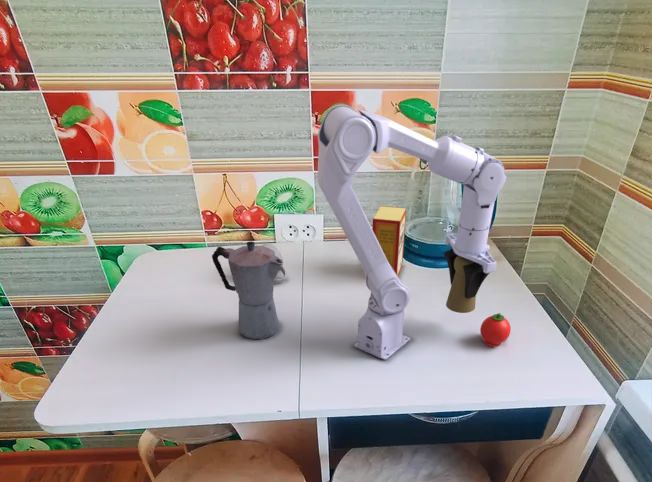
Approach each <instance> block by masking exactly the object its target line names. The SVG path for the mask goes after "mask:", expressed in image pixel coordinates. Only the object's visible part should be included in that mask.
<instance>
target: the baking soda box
mask: <svg viewBox="0 0 652 482" xmlns="http://www.w3.org/2000/svg"><path fill="white" fill-rule="evenodd" d="M406 218H407V207H399V206H387V205H380V206H379V208H378V209H377V211H376V213H375V214H374V216H373V217H372V226H371V228H372V230H373V232H374V234H375V236H376V238H377V240H378V242H379V244H380V246H381V248H382V251H383V253H384V255H385V257H386V259H387V261H388V263H389V265H390V266H391V267H392V268H393V269H394V271H395V272H396V275H397V276H398V277H399V275H400V273H401V271H402V268H403V263H404V262H403V261H404V260H403V259H404V249H405V248H404V246H405V233H406Z"/></svg>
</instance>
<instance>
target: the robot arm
mask: <svg viewBox="0 0 652 482" xmlns="http://www.w3.org/2000/svg"><path fill="white" fill-rule="evenodd" d="M357 111H358V112H359V113H358V112H357ZM357 111H356V110H355V109H354V108H353V107H351V106H350V105H347V104H336V105H334V106H332V107H331V108H330V109H329V110H328V111H327V112H326V113H325V114H324V117H323V119H322V122H321V124H320V127H319V129H318V132H317V141H318V156H317V175H316V176H317V183H318V186H319V188H320V190H321V192H322V193H323V196H324V197H325V199H326V201H327V203H328V205H329V206H330V208H331V210H332V212H333V214H334V216H335V217H336V220H337V222H338V223H339V225H340V228H341V230H342V231H343V233H344V235H345V237H346V238H347V241H348V242H349V244H350V246H351V248H352V250H353V252H354V253H355V255H356V258H357V260H358V261H359V263H360V265H361V268H362V270H363V272H364V274H365V285H366V287H367V289H368V290H369V291H370V295H369V298H368V302H367V308H366V311H365V312H364V314H363V315H362V316H361V317H360V318H359V320H358V321H357V322H358V323H357V342H356V343H354V348H356V349H358V350H361V351H364V352H365V353H368V354H370V355H372V356H374V357H377V358H379V359H382V361H383V360H384V361H386V360H388V359H389V358H390V357H391V356H392V355H394V354H395V353H396V352H397V351H399V350H400V349H401V348H402V347H403V346H404V345H406V344H407V343H408V342H409V341H411V337H409V336H407V335H405V334H403V331H404V317H405V309H406V307H407V306H408V305H409V303H410V300H411V292H410V289H409V288H408V287H407V285H405V284H404V283H403V281H402V280H401V279H400V277H399V276H397V275H396V272H395V271H394V269H393V268H392V267H391V266H390V265H389V263H388V261H387V259H386V257H385V255H384V253H383V251H382V248H381V246H380V244H379V242H378V240H377V238H376V236H375V234H374V232H373V230H372V226H371V223H370V222H369V219H368V218H367V216H366V213H365V211H364V209H363V207H362V205H361V203H360V201H359V199H358V197H357V195H356V193H355V189H353V186H352V183H353V181H354V178H355V176H356V173H357V172H358V170H359V169H360V167H362V165H363V163H365V161H366V160H367V159H368V158H369V156H370V155H371V153H372V152H373V153H375V154H377V155H378V154H380V153H381V152H383V151H385V150H387V149H388V148H391V149H394V150H396V151H399V152H402V153H404V154H407V155H409V156H412V157H415V158H418V159H420V160H423V161H426V163H427V166H428V169H429V171H430V172H431V173H432V174H435V175H437V176H440V177H442V178H445V179H448V180H450V181H452V182H455V183H458V184H460V185H463V191H462V197H461V198H462V199H461V205H460V210H459V219H458V225H457V232H456V233H449V234H446V235H445V242H444V244H445V245H446V246H448V247H449V246H450V249H449V250H445V251H444V253H443V256H444V258H445V260H446V263H447V267H448V271H449V272H448V273H449V282H450V286H451V285H452V282H453V279H454V275H455V272H456V271H455V269H454V261H455V258H456V257H457V256H458V255H459V256H461V257H464V258H466V259H469V260H471V261H473V264H470V265H464V266H463V269H464V273H465V282H466V283H465V297H466V298H472V297H475V296H476V297H477V294H478V292H479V290H480V288H481V286H482V285H483V282H484V281H485V279H486V278H487V277H488V276H489V275H490V274H492V273H496V270H497V265H498V262H497V260H495V259H494V258H493V257H492V255H491V253H490V252H489V250H490V248H491V246H490V245H489V244H488V239H489V233H490V228H491V223H492V218H493V212H494V207H495V203H496V202H495V201H497V197H498V196H497V195H498V194H499V192H500V190H501V189H502V188H503V187H504V185H505V184H506V181H507V178H508V176H507V175H506V174H505V173H506V171H505V165H504V164H503V162H502V161H501V160H499V159H498V158H496V157H494V156H492V155H490V154H488V153H486V152H485V149H484V148H482V147H480V146H476V147H475V148H474V147H472V146H471V145H467V144H465V143H464V142H462V140H463V138H461V136H458V135H456V134H451V136H448V135H443V136H441V137H439V138H437V139H435V140H434V139H432V138H429V137H427V136H425V135H423V134H421V133H419V132H417V131H415V130H412V129H411V128H409V127H407V126H404V125H402V124H400V123H398V122H397V121H394V120H392V119H390V118H387V117H385V116H384V115H381V114H376V113H373V112H371V111H367V110H364V109H363V110H362V109H357Z"/></svg>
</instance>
